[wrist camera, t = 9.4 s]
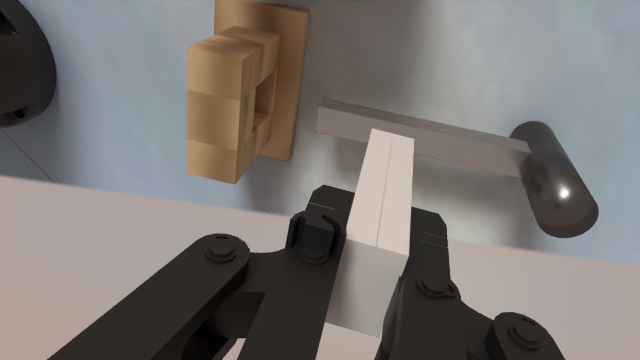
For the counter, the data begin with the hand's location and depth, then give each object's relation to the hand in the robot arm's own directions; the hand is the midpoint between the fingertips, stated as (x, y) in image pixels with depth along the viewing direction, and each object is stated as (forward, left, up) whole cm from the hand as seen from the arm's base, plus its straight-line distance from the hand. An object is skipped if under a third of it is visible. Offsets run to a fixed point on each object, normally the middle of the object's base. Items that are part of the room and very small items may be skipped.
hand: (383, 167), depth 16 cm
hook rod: (+4, -7, -25) cm, 26 cm away
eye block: (-13, -7, -25) cm, 29 cm away
